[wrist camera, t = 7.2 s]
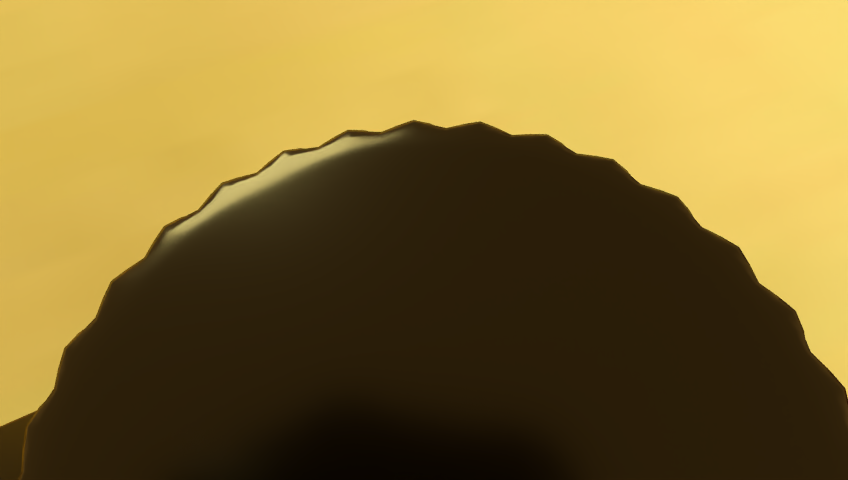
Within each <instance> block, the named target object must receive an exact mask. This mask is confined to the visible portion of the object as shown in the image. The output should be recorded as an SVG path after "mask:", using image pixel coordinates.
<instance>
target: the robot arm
mask: <svg viewBox="0 0 848 480" xmlns="http://www.w3.org/2000/svg"><path fill="white" fill-rule="evenodd" d="M35 413H36V411H35V412H33V413H30V414H28V415H26V416H23V417H21V418H19V419H17V420H14V421H12V422H10V423H7V424H5V425H3V426H0V480H17V479H18V477H19V475H20V473H21V466H22V450H23V442H24V435H25V428H26V426H27V424H28V423H29V421H30V420H31V418H32V417H33V416H34V414H35Z"/></svg>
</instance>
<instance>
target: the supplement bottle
mask: <svg viewBox="0 0 848 480" xmlns="http://www.w3.org/2000/svg"><path fill="white" fill-rule="evenodd" d="M17 480H848V398H847V394H846V389H845V387H844V386H843V385H842V384H841V383H840V382H839V381H838V379H837V378H836V377H835V376H834V375H833V374H832V373H831V372H830V370H829V369H828V368H827V367H826V366H825V365H824V364H822V363H821V362H820V361H819V360H818V359H817V358H816V357H815V356H814V355H813V354H812V353H811V352H810V349H809V347H808V344H807V342H806V340H805V335H804V330H803V327H802V325H801V323H800V320H799V318H798V316H797V313H796V311H795V310H794V309H793V308H792V307H790V306H789V305H788V304H787V303H785V302H784V301H783V300H782V299H781V298H779V297H778V296H777V295H775V294H774V293H773V292H771V291H770V290H768V289H767V288H765V287H764V286H763V285H761V284H760V283H759V282H758V280H757V278H756V276H755V274H754V272H753V270H752V268H751V266H750V264H749V263H748V261H747V259H746V258H745V256H744V254H743V253H742V251H741V250H740V248H739V247H738V246H736V245H735V244H733V243H731V242H729V241H728V240H726V239H724V238H723V237H721V236H719V235H717V234H715V233H713V232H711V231H709V230H707V229H705V228H703V227H701V226H700V225H699V223H698V222H697V221H696V220H695V219H694V217H693V215H692V214H691V212H690V210H689V209H688V208H687V207H686V206H685V204H684V203H683V202H682V201H681V200H680V199H679V198H678V197H677V196H675V195H672V194H669V193H667V192H664V191H661V190H658V189H655V188H652V187H648V186H645V185H642V184H640V183H639V182H637V181H636V180H635V179H634V178H633V177H632V176H631V175H630V174H629V173H628V171H627V170H626V169H624V168H623V167H622V166H621V165H620V164H618V163H617V162H616V161H615V160H614V159H609V158H603V157H598V156H592V155H584V154H577V153H575V152H573V151H572V150H570V149H568V148H567V147H566V146H564V145H563V144H562V143H561V142H559V141H557V140H556V139H554V138H552V137H551V136H549V135H547V134H525V135H511V134H508V133H506V132H504V131H502V130H500V129H498V128H496V127H493V126H490V125H488V124H485V123H483V122H475V123H468V124H462V125H458V126H454V127H449V128H443V127H439V126H434V125H432V124H430V123H425V122H420V121H415V120H413V121H410V122H407V123H404V124H401V125H398V126H395V127H393V128H391V129H388V130H386V131H383V132H368V131H364V130H347V131H345V132H343V133H341V134H339V135H337V136H335V137H334V138H332V139H330V140H329V141H327V142H325V143H324V144H322V145H321V146H319V147H315V148H308V149H302V148H299V149H292V150H285V151H282V152H281V153H280V154H279V155H277V156H276V157H275V158H273V159H272V160H271V161H270V162H268V163H267V164H266V165H265V166H264V167H263V168H262V169H260V170H259V171H258V172H257V173H254V174H250V175H246V176H242V177H238V178H235V179H232V180H229V181H226V182H223V183H221V184H220V185H219V186H218V187H217V189H216V190H215V191H214V192H213V193H212V194H211V195H210V196H209V197H208V198H207V200H206V201H205V202H204V203H203V205H202V206H201V207H200V208H199V209H198V210H197V211H195V212H193V213H191V214H189V215H187V216H185V217H181V218H179V219H177V220H175V221H173V222H171V223H169V224H167V225H165V226H164V227H163V229H162V230H161V232H160V233H159V234H158V236H157V237H156V239H155V240H154V242H153V244H152V245H151V247H150V249H149V250H148V252H147V254H146V256H145V257H144V258H143V259H142V260H140V261H139V262H137V263H136V264H134V265H133V266H131V267H130V268H128V269H127V270H125V271H124V272H123V273H121V274H120V275H119V276H117V277H116V278H115V279H113V280H112V281H111V283H110V285H109V287H108V289H107V291H106V293H105V295H104V297H103V300H102V302H101V305H100V307H99V310H98V313H97V315H96V318H95V319H94V320H93V321H92V322H91V323H90V324H89V325H88V326H87V327H86V328H85V329H84V330H82V331H81V332H80V333H78V335H77V336H76V337H75V338H74V339H73V340H72V341H71V342H70V343H69V344H68V345H67V346H66V347H65V348H64V351H63V355H62V358H61V361H60V365H59V368H58V373H57V377H56V382H55V387H54V390H53V391H52V393H51V394H50V395H49V397H48V398H47V400H46V401H45V402H44V403H43V404H42V405H41V406H40V407H39V408H38V410H37V411H36V413H35V414H34V416H33V417H32V418H31V420H30V421H29V423H28V424H27V426H26V428H25V435H24V442H23V450H22V466H21V473H20V475H19V477H18V479H17Z"/></svg>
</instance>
